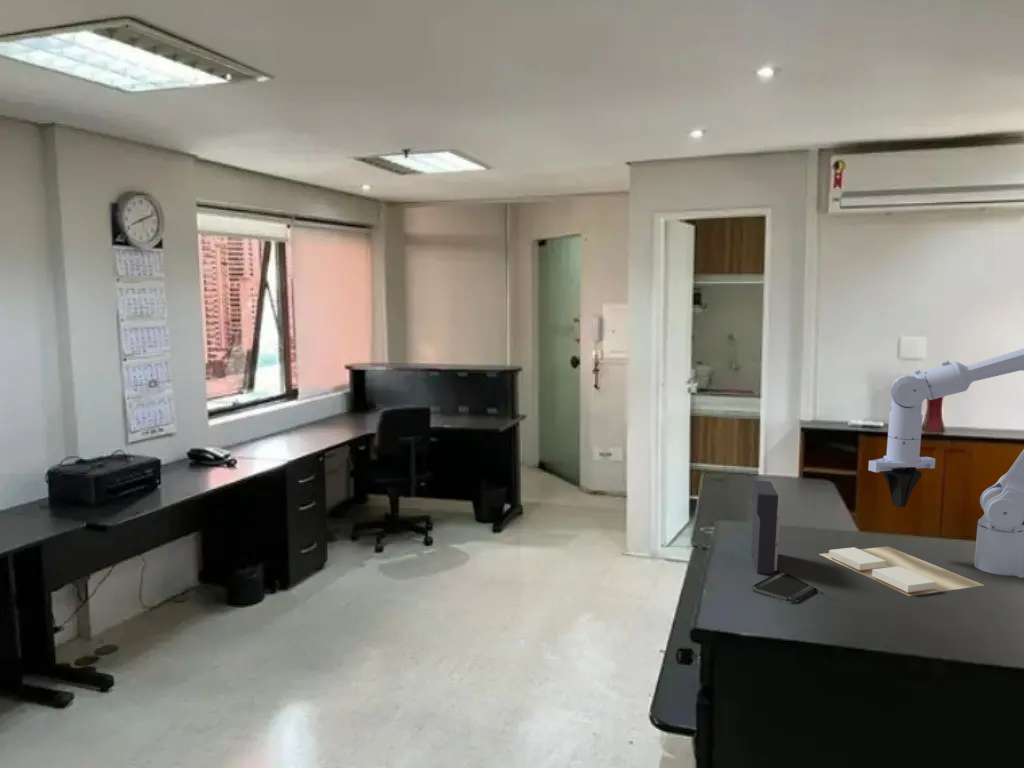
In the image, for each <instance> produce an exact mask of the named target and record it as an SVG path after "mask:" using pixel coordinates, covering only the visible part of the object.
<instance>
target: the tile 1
mask: <svg viewBox="0 0 1024 768" xmlns="http://www.w3.org/2000/svg"><path fill="white" fill-rule="evenodd" d="M828 553H829V556H830V557H832V559H834V560H836V561H838V562H840V563H842V564H845V565H847V566H849V567H851V568H853V569H855V570H858V571H867V570H872V569H880V568H882V567H886V561H885V560H883V559H881V558H878V557H876V556H874V555H871V554H869V553H867V552H864V551H862V550H859V548H857V547H845V548H844V547H843V548H834V549H828Z"/></svg>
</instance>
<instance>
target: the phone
mask: <svg viewBox="0 0 1024 768" xmlns="http://www.w3.org/2000/svg"><path fill="white" fill-rule="evenodd" d="M816 590H817V591H819V590H818V588H816V587H814V586H812V585H810V584H808V583H806V582H804V581H803V580H801V579H798V578H797V577H795V576H793V575H791V574H789V573H788V572H786V571H783V570H781V571H779V572H777V573H774V574H772V575H770V576H768V577H767V578H765V579H763V580H761V581H760V582H757V583H754V584H753V585H752V593H753V592H754V593H755V594H759V595H761V596H764V597H768V596H769V597H768V598H771V597H773V598H772V599H774V598H778V599H781V600H785V601H790V602H795V601H797V600H799V601H801V600H802V599H801V598H803V597H805V596H806V597H808V596H809V595H808V594H810V593H812V592H813V593H815V592H817V591H816ZM814 591H815V592H814ZM813 593H812V594H813ZM807 595H808V596H807ZM810 595H811V594H810ZM806 597H805V598H806ZM800 599H801V600H800ZM803 599H804V598H803ZM781 600H780V601H781Z"/></svg>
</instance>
